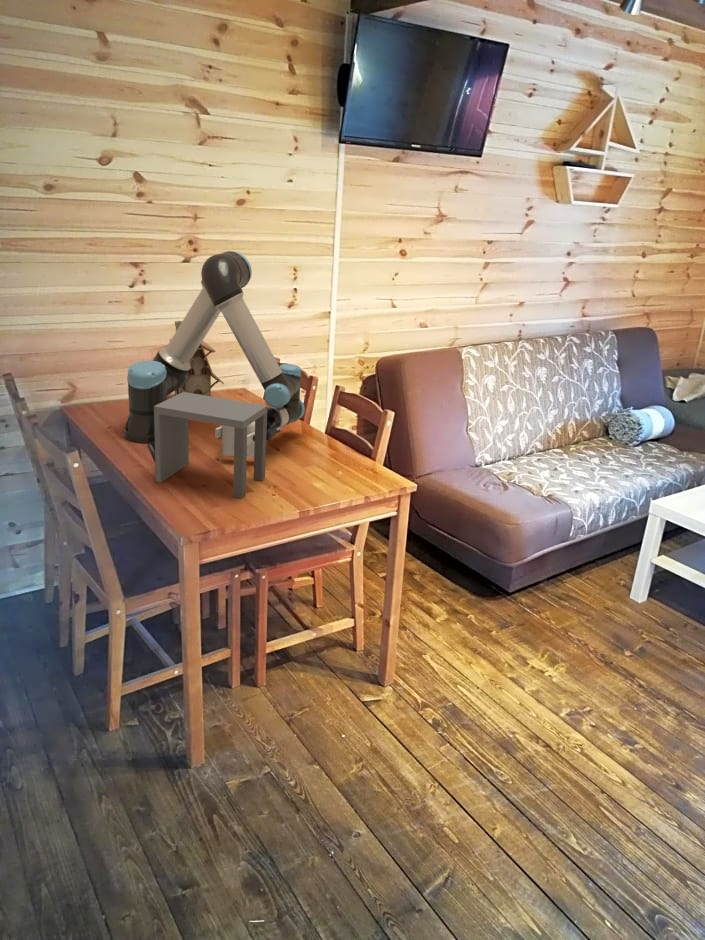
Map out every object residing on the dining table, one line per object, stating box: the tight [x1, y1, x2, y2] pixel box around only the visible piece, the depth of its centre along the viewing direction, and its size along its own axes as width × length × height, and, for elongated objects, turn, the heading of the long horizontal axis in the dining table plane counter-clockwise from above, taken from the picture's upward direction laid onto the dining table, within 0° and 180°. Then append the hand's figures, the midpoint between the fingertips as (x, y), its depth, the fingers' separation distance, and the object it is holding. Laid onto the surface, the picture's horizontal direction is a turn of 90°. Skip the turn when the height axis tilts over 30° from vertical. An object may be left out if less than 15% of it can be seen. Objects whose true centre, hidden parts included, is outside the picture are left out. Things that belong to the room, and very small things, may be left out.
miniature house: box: [169, 320, 224, 397], centre depth 259 cm, size 18×24×30 cm
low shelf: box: [154, 392, 268, 499], centre depth 201 cm, size 26×16×22 cm, turn 74°
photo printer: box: [221, 421, 255, 458], centre depth 215 cm, size 10×4×12 cm, turn 91°
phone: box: [147, 442, 155, 462], centre depth 222 cm, size 8×1×15 cm
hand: (230, 437), depth 212 cm, fingers closed on photo printer, 10 cm apart
